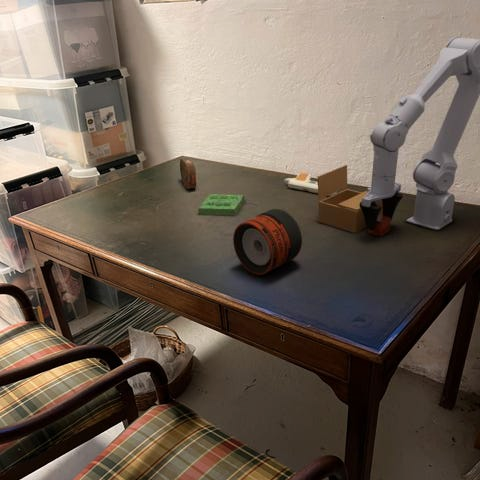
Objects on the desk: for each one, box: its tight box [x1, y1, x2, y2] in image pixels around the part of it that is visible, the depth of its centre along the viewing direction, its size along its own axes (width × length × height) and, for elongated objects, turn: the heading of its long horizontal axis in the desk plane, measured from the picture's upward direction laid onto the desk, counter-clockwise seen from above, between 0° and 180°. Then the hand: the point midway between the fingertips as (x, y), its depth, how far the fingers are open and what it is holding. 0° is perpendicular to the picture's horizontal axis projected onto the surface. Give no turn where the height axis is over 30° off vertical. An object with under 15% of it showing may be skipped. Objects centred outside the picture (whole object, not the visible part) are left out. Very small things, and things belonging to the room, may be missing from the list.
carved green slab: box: [197, 193, 245, 217], centre depth 157 cm, size 11×12×2 cm
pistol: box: [283, 172, 339, 197], centre depth 167 cm, size 2×20×11 cm
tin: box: [179, 158, 197, 190], centre depth 175 cm, size 15×3×8 cm, turn 17°
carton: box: [317, 188, 383, 234], centre depth 141 cm, size 13×13×7 cm
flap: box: [317, 164, 348, 200], centre depth 142 cm, size 6×13×1 cm
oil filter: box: [232, 208, 303, 276], centre depth 120 cm, size 13×12×13 cm
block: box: [367, 214, 391, 237], centre depth 134 cm, size 4×4×4 cm
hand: (378, 224), depth 134 cm, fingers open, 7 cm apart
